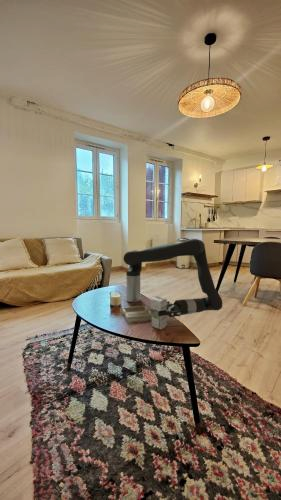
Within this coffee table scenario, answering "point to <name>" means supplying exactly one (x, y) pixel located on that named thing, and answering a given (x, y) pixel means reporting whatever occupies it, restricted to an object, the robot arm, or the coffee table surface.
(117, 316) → the coffee table surface
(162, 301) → the syrup box
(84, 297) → the coffee table surface
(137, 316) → the wooden tray
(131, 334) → the coffee table surface
